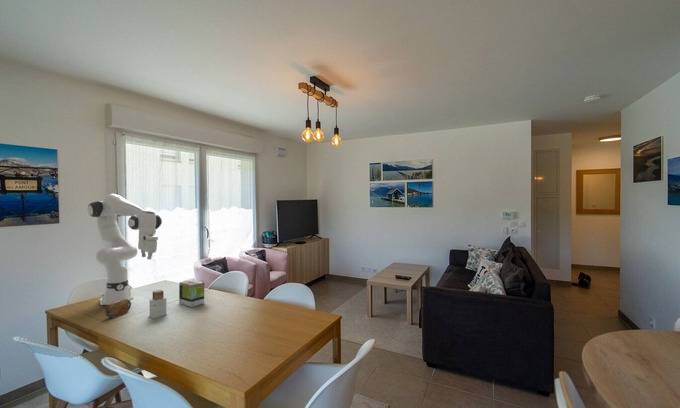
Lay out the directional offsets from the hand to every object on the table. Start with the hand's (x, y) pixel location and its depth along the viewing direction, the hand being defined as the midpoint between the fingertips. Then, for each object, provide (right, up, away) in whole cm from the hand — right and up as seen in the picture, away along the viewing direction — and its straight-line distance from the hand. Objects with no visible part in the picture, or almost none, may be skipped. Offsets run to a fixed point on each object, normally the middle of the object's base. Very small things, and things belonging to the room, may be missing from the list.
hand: (146, 258), depth 179 cm
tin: (-16, -35, -2) cm, 38 cm away
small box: (+9, -35, -3) cm, 36 cm away
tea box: (+19, -35, +19) cm, 44 cm away
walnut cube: (+9, -24, -3) cm, 26 cm away
